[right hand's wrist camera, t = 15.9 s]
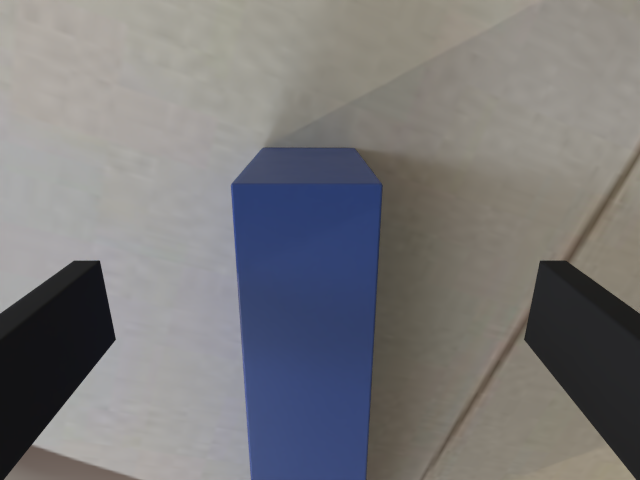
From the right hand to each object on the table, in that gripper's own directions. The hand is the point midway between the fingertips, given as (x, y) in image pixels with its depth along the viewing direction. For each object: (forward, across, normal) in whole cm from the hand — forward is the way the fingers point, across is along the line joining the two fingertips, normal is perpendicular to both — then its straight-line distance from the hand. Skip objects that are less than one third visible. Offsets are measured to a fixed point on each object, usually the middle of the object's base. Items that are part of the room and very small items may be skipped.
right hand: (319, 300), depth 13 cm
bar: (+9, -1, -10) cm, 14 cm away
